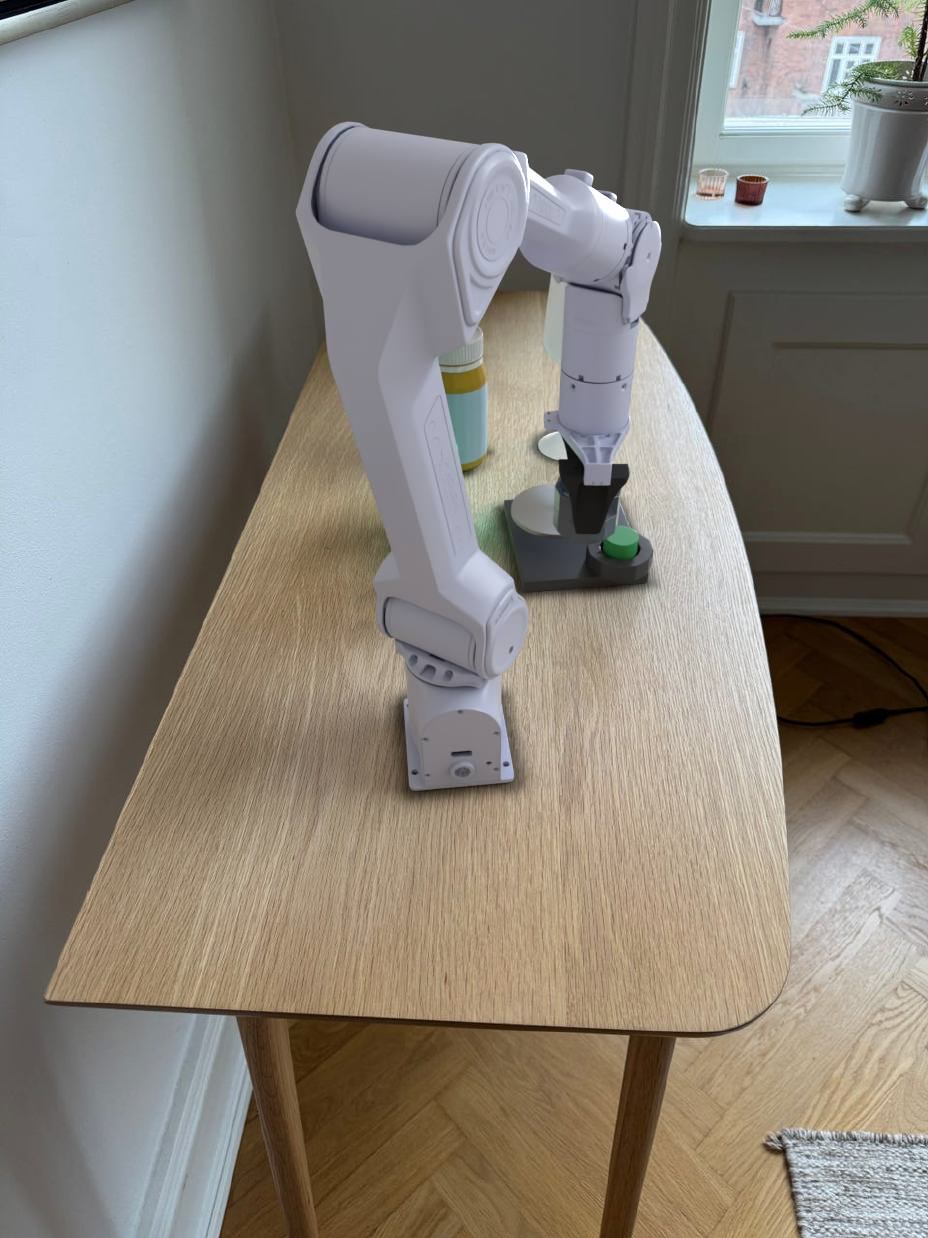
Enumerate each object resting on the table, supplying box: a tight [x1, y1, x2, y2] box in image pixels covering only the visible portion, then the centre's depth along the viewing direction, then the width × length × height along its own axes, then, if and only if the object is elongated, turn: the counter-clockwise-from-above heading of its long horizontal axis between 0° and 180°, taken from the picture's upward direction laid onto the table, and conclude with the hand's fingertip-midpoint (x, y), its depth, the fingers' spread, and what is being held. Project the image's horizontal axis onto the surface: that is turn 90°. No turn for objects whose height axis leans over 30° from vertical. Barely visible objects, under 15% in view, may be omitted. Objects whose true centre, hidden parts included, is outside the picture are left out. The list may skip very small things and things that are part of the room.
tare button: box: [603, 526, 639, 560], centre depth 86 cm, size 3×3×2 cm
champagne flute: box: [537, 273, 569, 461], centre depth 99 cm, size 7×7×24 cm
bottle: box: [438, 325, 488, 472], centre depth 100 cm, size 7×7×15 cm
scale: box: [503, 499, 655, 593], centre depth 91 cm, size 15×12×3 cm
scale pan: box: [511, 483, 564, 539], centre depth 91 cm, size 9×9×1 cm
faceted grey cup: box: [553, 475, 623, 544], centre depth 81 cm, size 6×6×4 cm
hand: (585, 510), depth 81 cm, fingers closed on faceted grey cup, 6 cm apart
